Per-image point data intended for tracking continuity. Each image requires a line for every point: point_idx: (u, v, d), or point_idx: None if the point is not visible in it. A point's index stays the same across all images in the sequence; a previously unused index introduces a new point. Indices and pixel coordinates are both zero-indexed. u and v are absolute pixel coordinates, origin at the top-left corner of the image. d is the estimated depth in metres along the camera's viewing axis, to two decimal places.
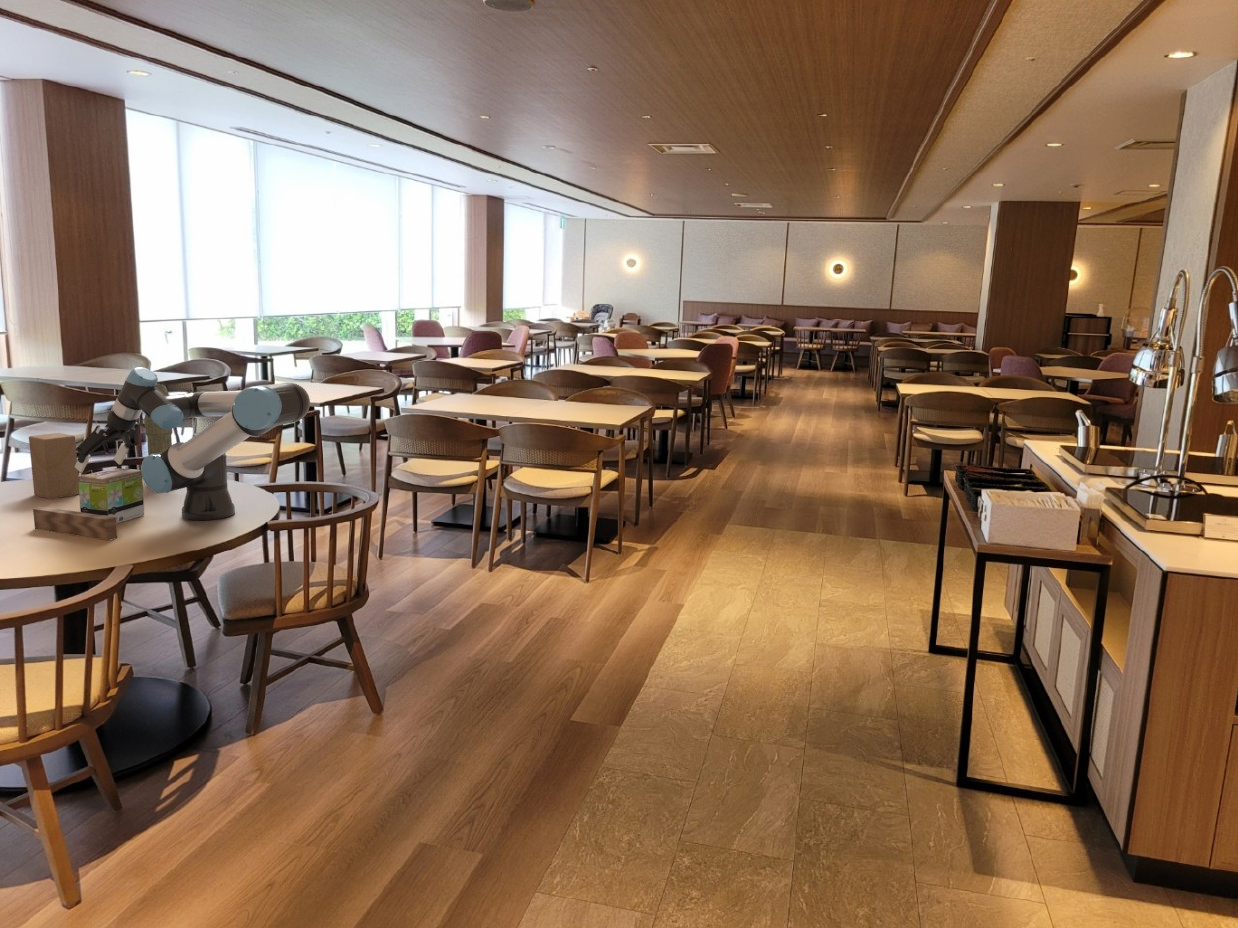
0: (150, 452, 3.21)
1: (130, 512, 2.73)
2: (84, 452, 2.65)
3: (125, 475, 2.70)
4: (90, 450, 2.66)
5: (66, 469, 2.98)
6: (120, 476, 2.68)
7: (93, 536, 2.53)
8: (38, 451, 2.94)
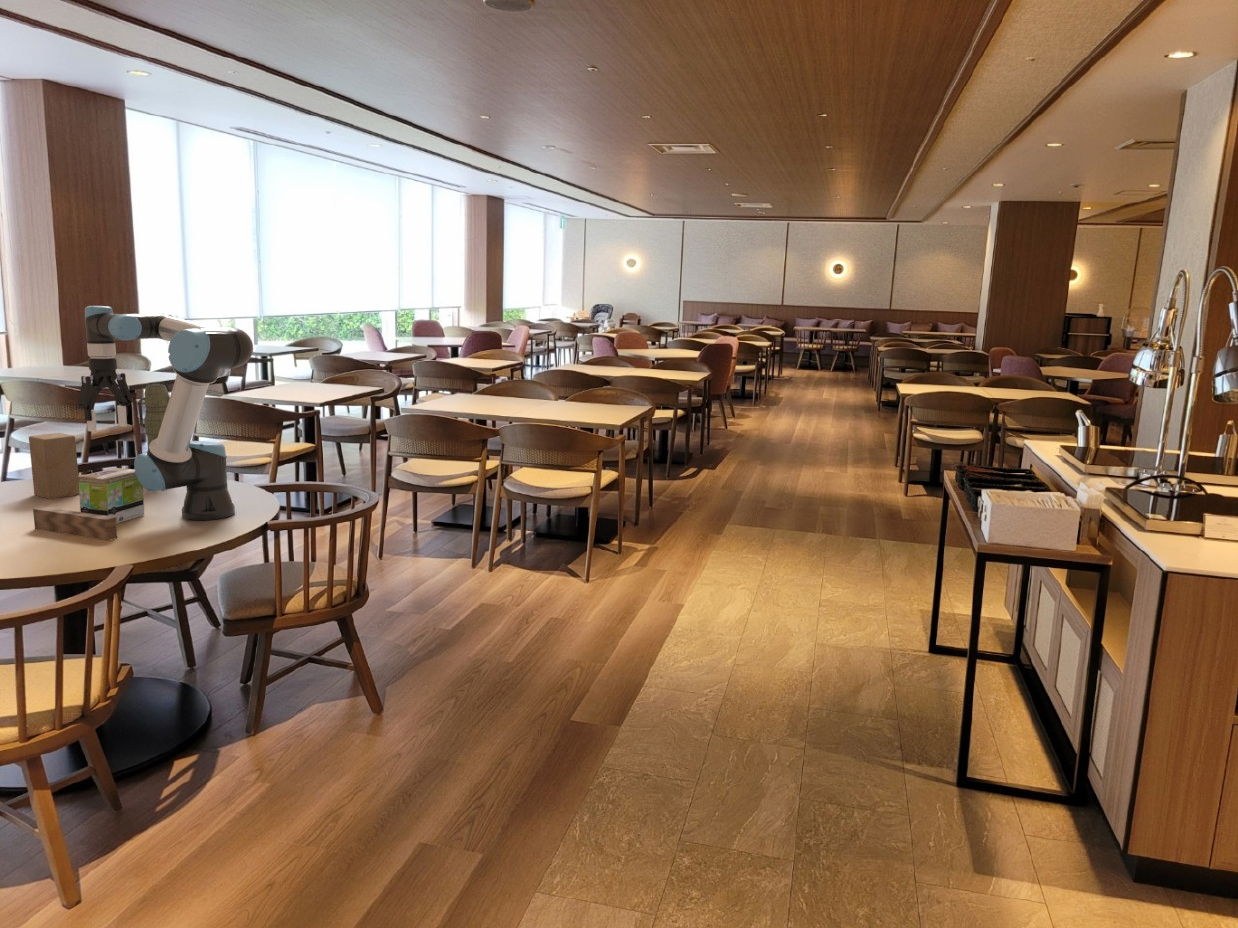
0: None
1: (130, 512, 2.73)
2: (85, 405, 2.70)
3: (125, 475, 2.70)
4: (90, 403, 2.72)
5: (66, 469, 2.98)
6: (120, 476, 2.68)
7: (93, 536, 2.53)
8: (38, 451, 2.94)
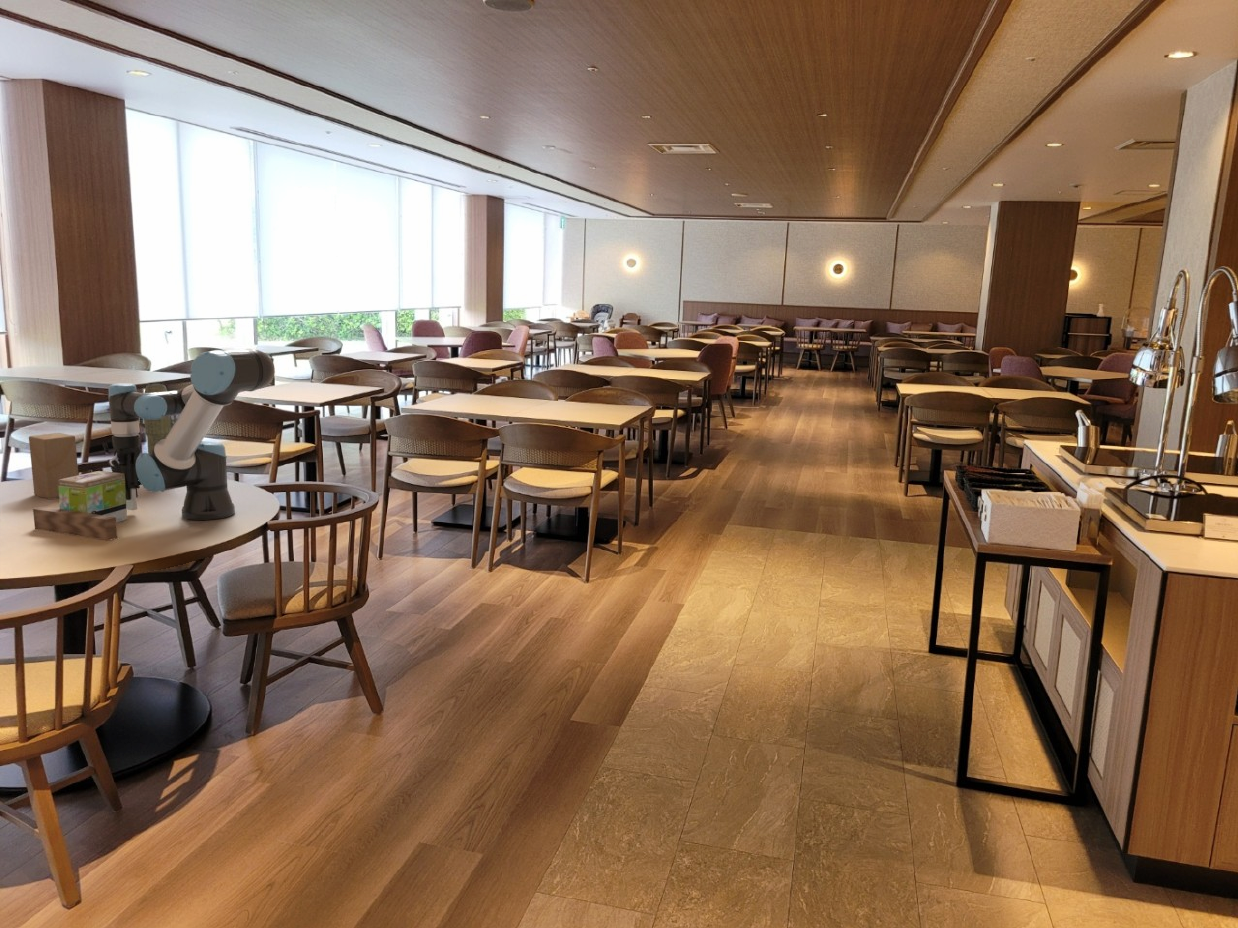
0: None
1: (111, 516, 2.67)
2: None
3: (106, 478, 2.64)
4: (127, 483, 2.75)
5: (66, 469, 2.98)
6: (100, 480, 2.62)
7: (93, 536, 2.53)
8: (38, 451, 2.94)
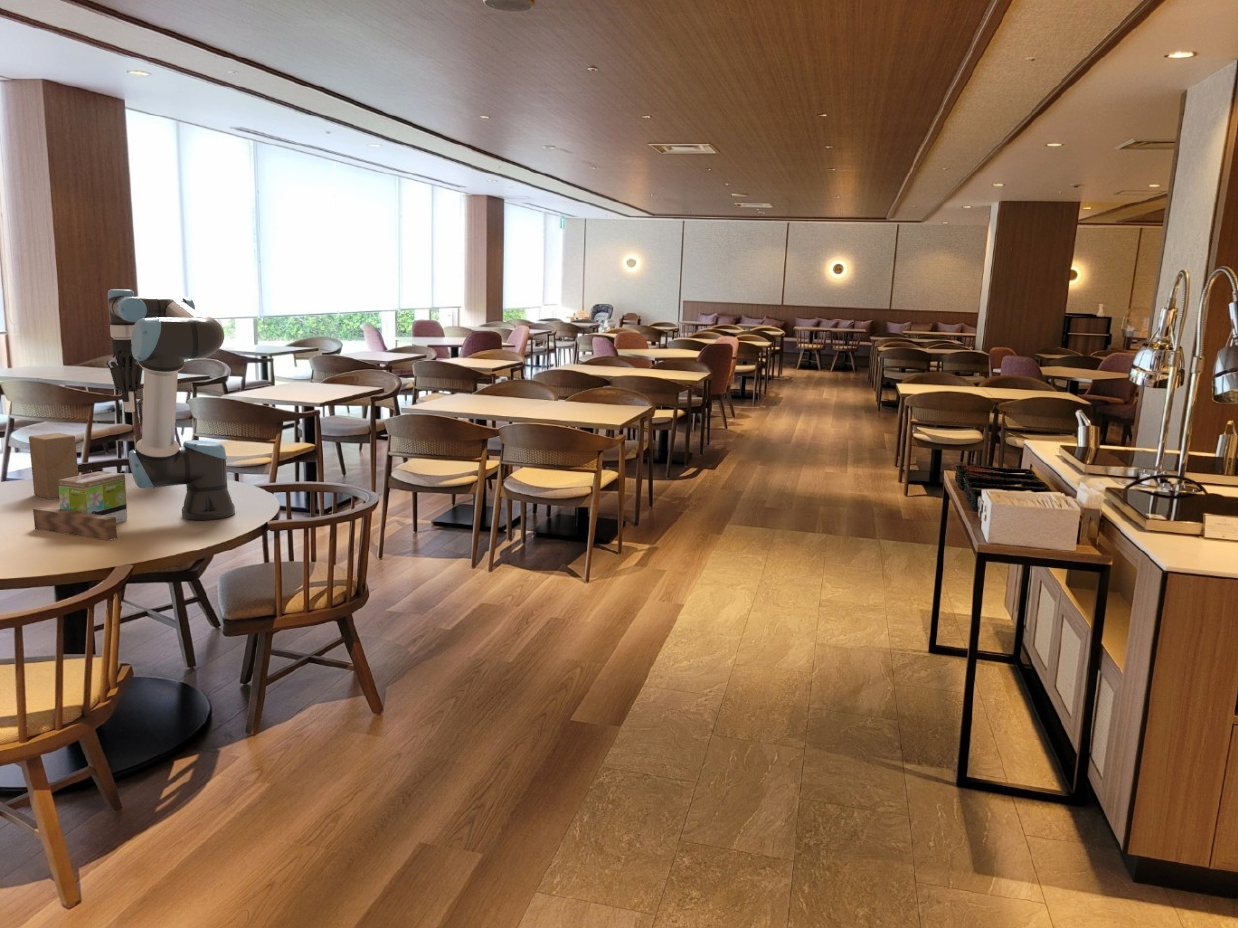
0: None
1: (111, 516, 2.67)
2: (122, 386, 2.88)
3: (106, 479, 2.64)
4: (125, 386, 2.89)
5: (66, 469, 2.98)
6: (101, 480, 2.62)
7: (93, 536, 2.53)
8: (38, 451, 2.94)
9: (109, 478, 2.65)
